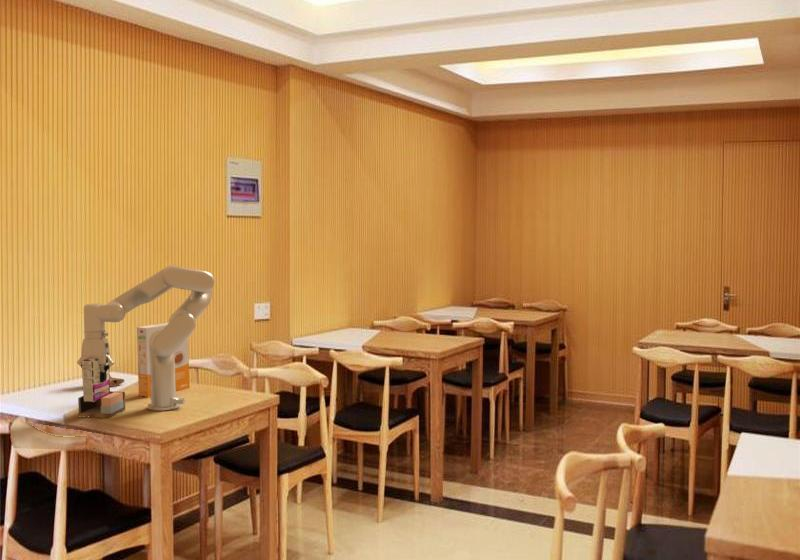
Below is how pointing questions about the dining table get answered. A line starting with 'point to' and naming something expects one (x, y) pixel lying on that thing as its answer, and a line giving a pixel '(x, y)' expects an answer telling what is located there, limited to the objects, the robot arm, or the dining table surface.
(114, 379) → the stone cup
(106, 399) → the book rack
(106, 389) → the candy bar box
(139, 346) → the cereal box
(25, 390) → the dining table surface
